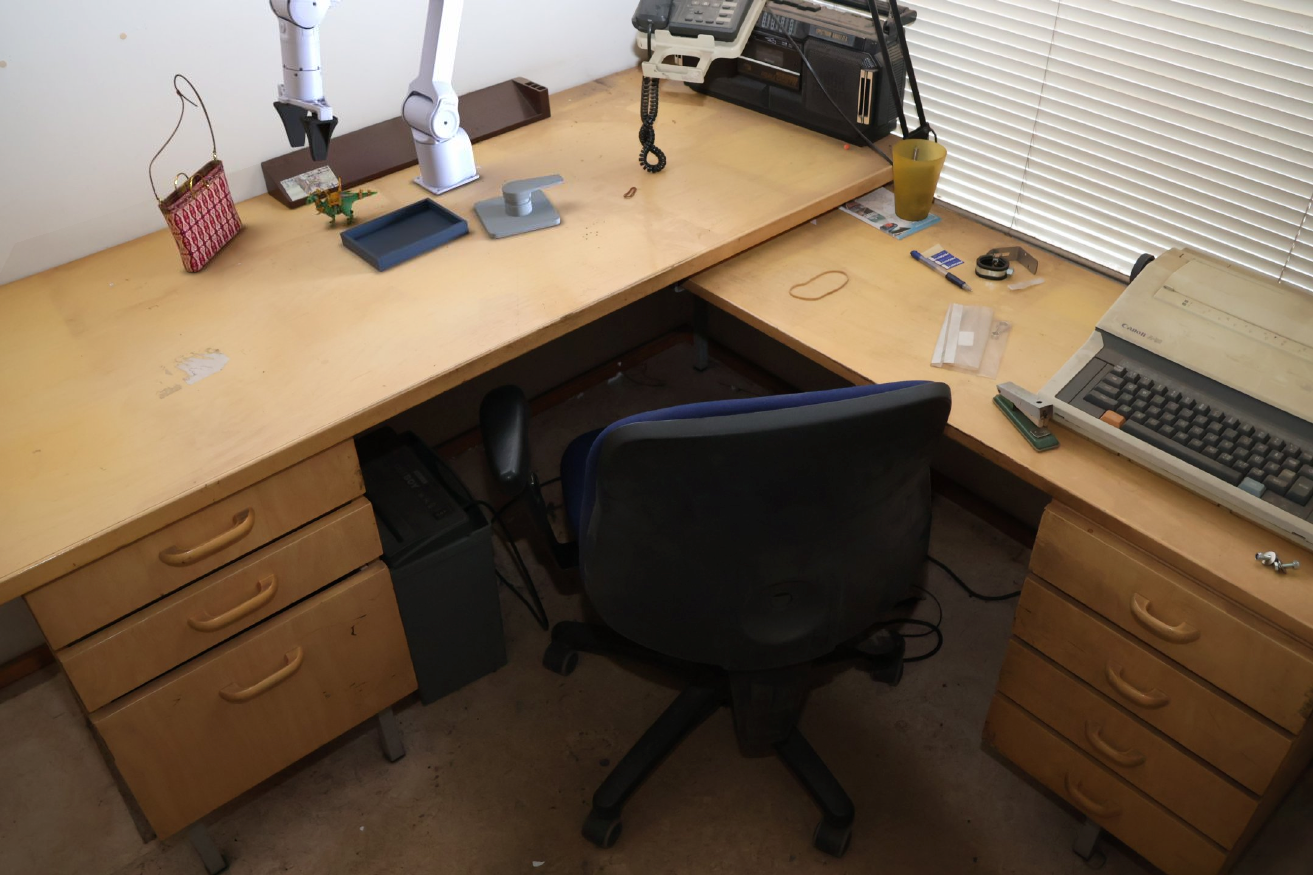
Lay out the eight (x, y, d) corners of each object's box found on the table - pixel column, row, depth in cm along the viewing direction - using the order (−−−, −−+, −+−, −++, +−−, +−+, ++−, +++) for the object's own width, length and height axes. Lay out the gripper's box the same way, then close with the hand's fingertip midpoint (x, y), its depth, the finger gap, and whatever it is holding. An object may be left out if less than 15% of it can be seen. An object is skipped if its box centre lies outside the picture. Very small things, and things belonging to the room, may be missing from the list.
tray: (430, 209, 176) (427, 197, 175) (469, 233, 169) (467, 220, 168) (342, 245, 168) (339, 232, 166) (379, 271, 161) (376, 259, 159)
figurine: (313, 223, 174) (300, 179, 169) (383, 213, 176) (372, 169, 170) (312, 231, 172) (299, 188, 166) (383, 221, 174) (373, 177, 168)
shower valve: (573, 191, 167) (485, 210, 163) (576, 220, 171) (490, 240, 167) (551, 161, 176) (467, 179, 172) (554, 190, 180) (473, 208, 176)
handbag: (261, 214, 177) (214, 73, 161) (197, 276, 162) (139, 128, 146) (223, 211, 179) (174, 72, 162) (157, 273, 163) (95, 125, 147)
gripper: (256, 57, 158) (264, 143, 165) (298, 80, 149) (305, 169, 156) (299, 54, 162) (305, 138, 169) (342, 76, 154) (347, 164, 161)
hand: (308, 153), depth 163 cm, fingers open, 7 cm apart
